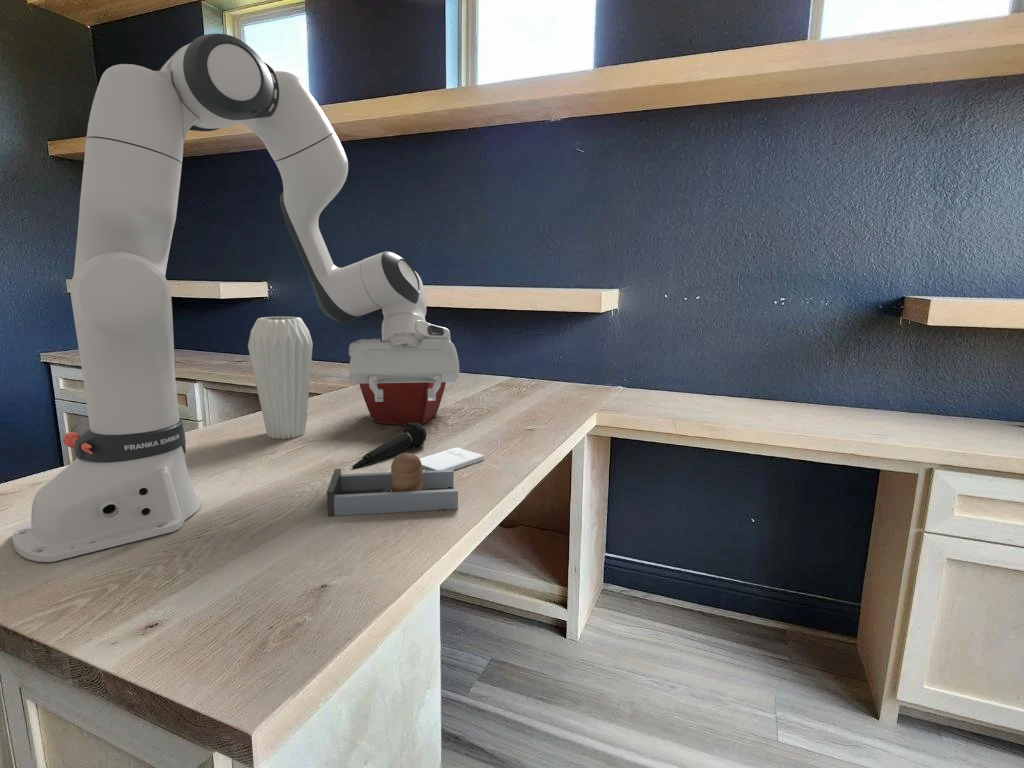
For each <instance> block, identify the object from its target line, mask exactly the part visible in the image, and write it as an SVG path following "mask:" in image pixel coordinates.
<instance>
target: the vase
mask: <svg viewBox="0 0 1024 768" xmlns="http://www.w3.org/2000/svg"><path fill="white" fill-rule="evenodd" d="M313 344H314V343H313V340H312V336H311V333H310V330H309V328H308V327H307V326H306V324H305V322H304V320H303V319H302V317H298V316H297V317H296V316H265V317H259V318H258V317H257V319H256V321H255V322H254V324H253V326H252V328H251V330H250V334H249V339H248V344H247V349H248V353H249V358H250V362H251V367H252V372H253V377H254V381H255V385H256V389H257V393H258V394H257V395H258V400H259V403H260V409H261V414H262V418H263V422H264V426H265V431H266V435H267V437H268V438H271V439H276V440H279V439H282V440H285V439H289V440H290V439H291V438H293V439H295V438H296V437H297V438H298V437H300V436H304V434H306V431H307V430H306V429H307V420H308V419H307V417H308V405H309V394H310V384H311V383H310V382H311V381H310V380H311V373H312V372H311V371H312V370H311V369H312V357H313V347H314V346H313Z"/></svg>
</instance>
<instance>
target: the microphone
mask: <svg viewBox="0 0 1024 768" xmlns="http://www.w3.org/2000/svg"><path fill="white" fill-rule="evenodd" d="M427 433H428V432H427V430H426V428H425V427H424V425H421V424H418V423H411V422H410V423H408V424H407V425H403V426H402V432H400V433H398V434H397V435H395V436H393V437H392V438H390V439H388V440H386V442H384V443H382V444H380V445H379V446H377V447H375V448H373V449H372V450H370V451H368V452H367V453H365V454H364V456H362V458H361V459H359V460H358V461H356V463H354V464H352V468H353V469H357V468H360V467H363V466H365V465H367V466H368V465H370V464H371V463H372V464H375V463H377V462H378V461H381V460H383V459H385V458H387V457H391V456H392V455H394V454H396V453H399V452H401V451H403V450H405V449H408V448H410V447H411V448H412V447H413V448H417V447H418V448H420V447H422V446H423V445H424V444H425V441H426V440H427V435H428V434H427ZM419 446H420V447H419Z"/></svg>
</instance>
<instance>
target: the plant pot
mask: <svg viewBox="0 0 1024 768" xmlns="http://www.w3.org/2000/svg"><path fill="white" fill-rule="evenodd" d="M446 384H447V382H441V387H440V388H439V390H438V391H437V393H436V401H428V388H433V382H426V383H377V388H378V389H383V402H375V394H374V393H373V392H372V390H371V389H370V387H369V383H362V384H359V388H360V391H361V394H362V397H363V400H364V402H365V405H366V407H367V410H368V413H369V415H370V417H371V420H372V421H373V423H375V424H385V425H387V424H388V425H398V426H399V425H400V426H405V425H407V424H408V423H410V422H411V423H418V424H421V425H422V426H424V425H425V424H426V423H428V422H429V421H430V420H431V419H432V418H434V416H436V415H437V413H438V411H439V408H440V405H441V403H442V398H443V395H444V392H445V388H446Z"/></svg>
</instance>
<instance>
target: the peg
mask: <svg viewBox="0 0 1024 768" xmlns="http://www.w3.org/2000/svg"><path fill="white" fill-rule="evenodd" d="M390 468H391V469H390V472H391V484H392V491H391V492H404V491H423V489H422V471H423V470H422V464H421V461H420V458H419V457H418V455H416V454H414V453H411V452H402V453H400V454H398V455H397V456H395V458H394V459H393V460H392V462H391V467H390Z"/></svg>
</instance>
